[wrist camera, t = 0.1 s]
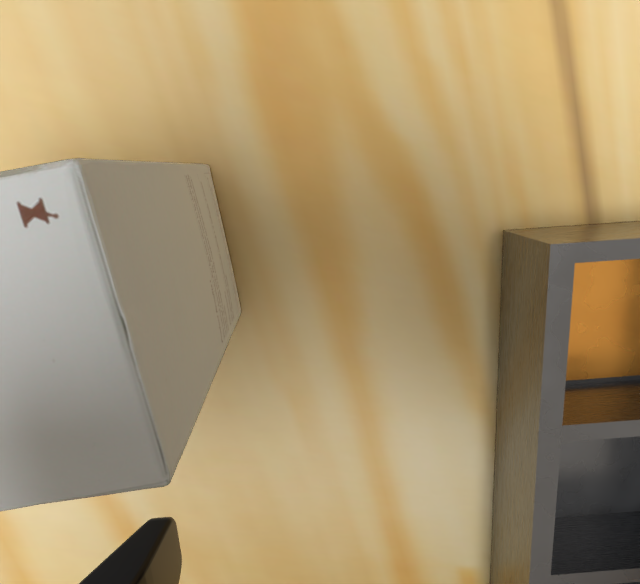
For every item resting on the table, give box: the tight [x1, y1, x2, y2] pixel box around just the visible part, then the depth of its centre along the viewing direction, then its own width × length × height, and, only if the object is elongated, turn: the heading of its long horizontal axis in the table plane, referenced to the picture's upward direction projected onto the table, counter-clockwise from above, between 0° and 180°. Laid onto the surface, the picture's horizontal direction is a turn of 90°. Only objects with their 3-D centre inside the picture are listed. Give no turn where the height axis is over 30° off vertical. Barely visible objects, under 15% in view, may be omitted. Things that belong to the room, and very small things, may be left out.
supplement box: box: [0, 158, 241, 511], centre depth 16 cm, size 7×7×13 cm
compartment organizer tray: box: [490, 221, 640, 584], centre depth 23 cm, size 24×9×4 cm, turn 4°
